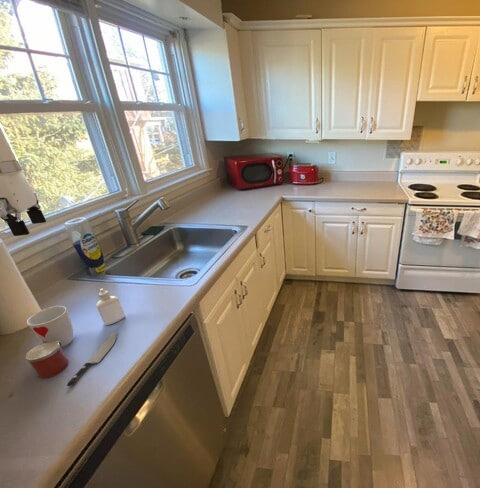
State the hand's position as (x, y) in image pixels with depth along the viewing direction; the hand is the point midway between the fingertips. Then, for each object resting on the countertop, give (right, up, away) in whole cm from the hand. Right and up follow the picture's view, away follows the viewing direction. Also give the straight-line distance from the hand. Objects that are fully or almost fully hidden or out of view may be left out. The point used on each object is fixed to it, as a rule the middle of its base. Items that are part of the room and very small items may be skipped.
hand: (31, 228), depth 80 cm
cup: (+8, -33, +1) cm, 34 cm away
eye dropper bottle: (+17, -29, +9) cm, 35 cm away
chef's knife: (+23, -35, -4) cm, 42 cm away
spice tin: (+14, -37, -7) cm, 40 cm away
